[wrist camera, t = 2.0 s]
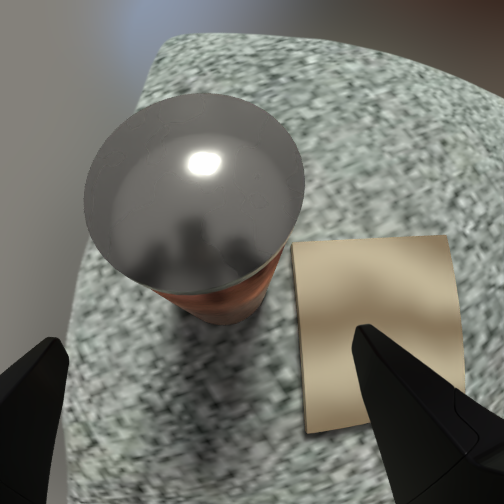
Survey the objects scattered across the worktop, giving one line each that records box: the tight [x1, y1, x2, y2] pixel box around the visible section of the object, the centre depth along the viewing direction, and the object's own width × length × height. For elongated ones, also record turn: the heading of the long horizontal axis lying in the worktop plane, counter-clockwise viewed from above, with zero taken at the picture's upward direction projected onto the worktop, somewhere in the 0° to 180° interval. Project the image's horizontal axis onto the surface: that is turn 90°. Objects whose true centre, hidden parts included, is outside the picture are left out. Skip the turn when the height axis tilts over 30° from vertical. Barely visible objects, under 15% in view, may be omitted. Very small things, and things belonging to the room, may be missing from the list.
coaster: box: [291, 235, 465, 434], centre depth 19 cm, size 12×12×1 cm
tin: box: [84, 93, 305, 325], centre depth 14 cm, size 6×6×13 cm
